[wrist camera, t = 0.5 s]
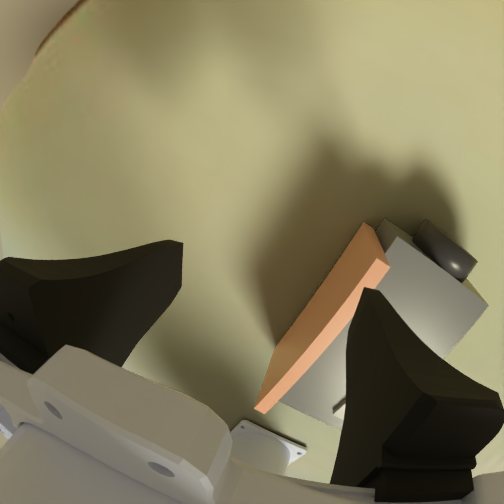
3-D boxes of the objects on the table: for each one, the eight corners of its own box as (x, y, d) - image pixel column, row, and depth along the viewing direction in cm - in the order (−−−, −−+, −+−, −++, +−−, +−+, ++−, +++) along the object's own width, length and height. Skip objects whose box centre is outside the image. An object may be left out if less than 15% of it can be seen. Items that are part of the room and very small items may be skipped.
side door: (283, 351, 24) (264, 414, 18) (275, 347, 24) (253, 408, 18) (373, 228, 19) (390, 267, 13) (363, 221, 20) (376, 258, 13)
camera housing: (356, 398, 24) (355, 440, 20) (281, 359, 25) (268, 400, 20) (477, 259, 18) (506, 287, 14) (397, 197, 19) (415, 212, 14)
